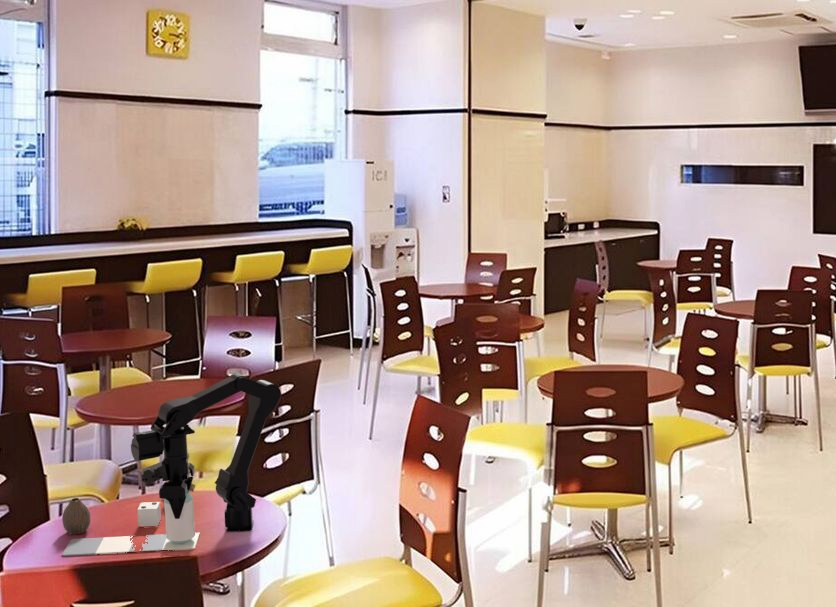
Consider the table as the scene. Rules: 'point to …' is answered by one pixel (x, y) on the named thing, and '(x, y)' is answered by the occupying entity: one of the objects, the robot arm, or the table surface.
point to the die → (149, 514)
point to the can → (180, 521)
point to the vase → (76, 517)
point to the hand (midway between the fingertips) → (179, 513)
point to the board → (124, 545)
